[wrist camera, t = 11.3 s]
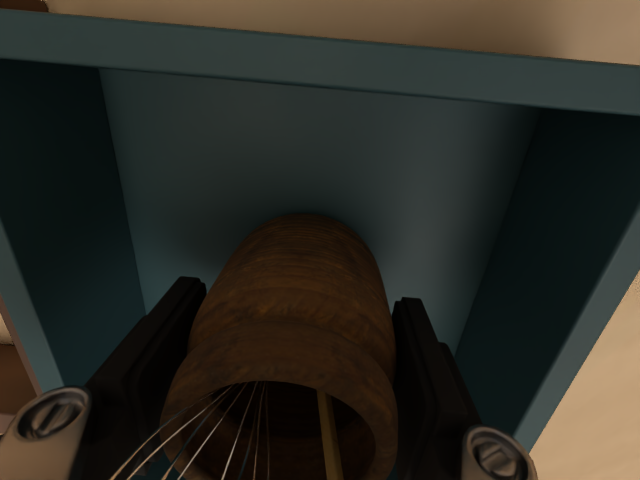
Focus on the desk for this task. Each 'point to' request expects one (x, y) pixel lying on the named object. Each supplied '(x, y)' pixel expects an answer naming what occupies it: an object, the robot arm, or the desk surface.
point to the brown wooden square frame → (4, 360)
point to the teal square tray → (317, 187)
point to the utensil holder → (287, 364)
